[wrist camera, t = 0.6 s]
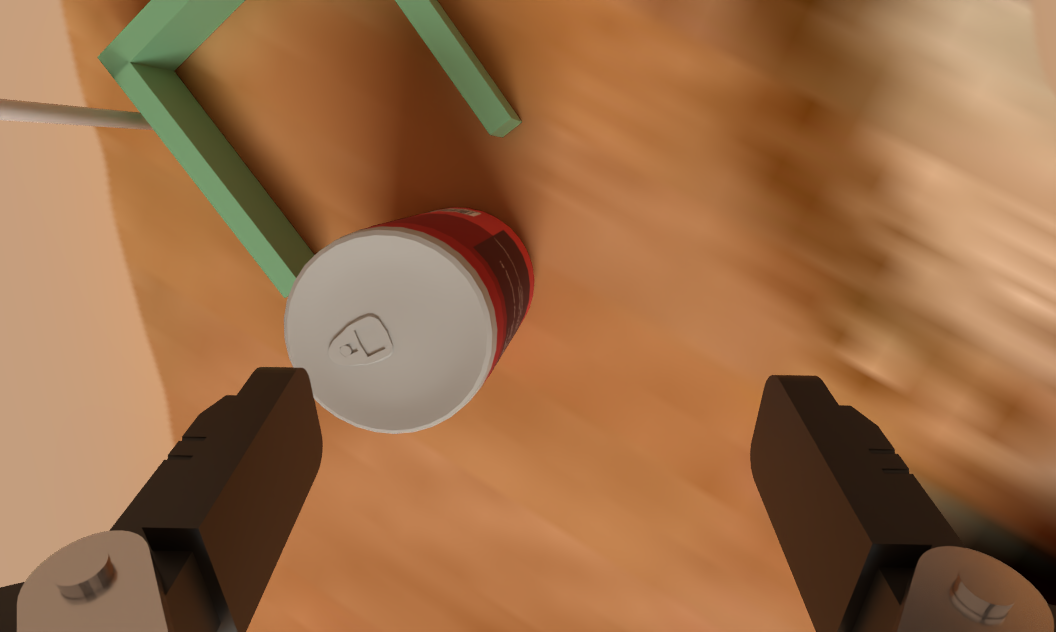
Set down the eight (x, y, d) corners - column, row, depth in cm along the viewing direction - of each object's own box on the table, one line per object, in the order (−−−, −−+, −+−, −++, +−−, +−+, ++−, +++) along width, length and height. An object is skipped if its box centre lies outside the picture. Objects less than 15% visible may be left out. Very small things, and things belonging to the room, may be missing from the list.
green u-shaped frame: (342, -136, 28) (-95, -595, 11) (522, 122, 30) (383, 69, 13) (126, 84, 33) (-435, -1, 15) (294, 301, 34) (-43, 444, 17)
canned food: (362, 271, 33) (240, 323, 23) (469, 172, 31) (389, 177, 20) (456, 378, 34) (380, 476, 23) (567, 287, 32) (538, 350, 21)
